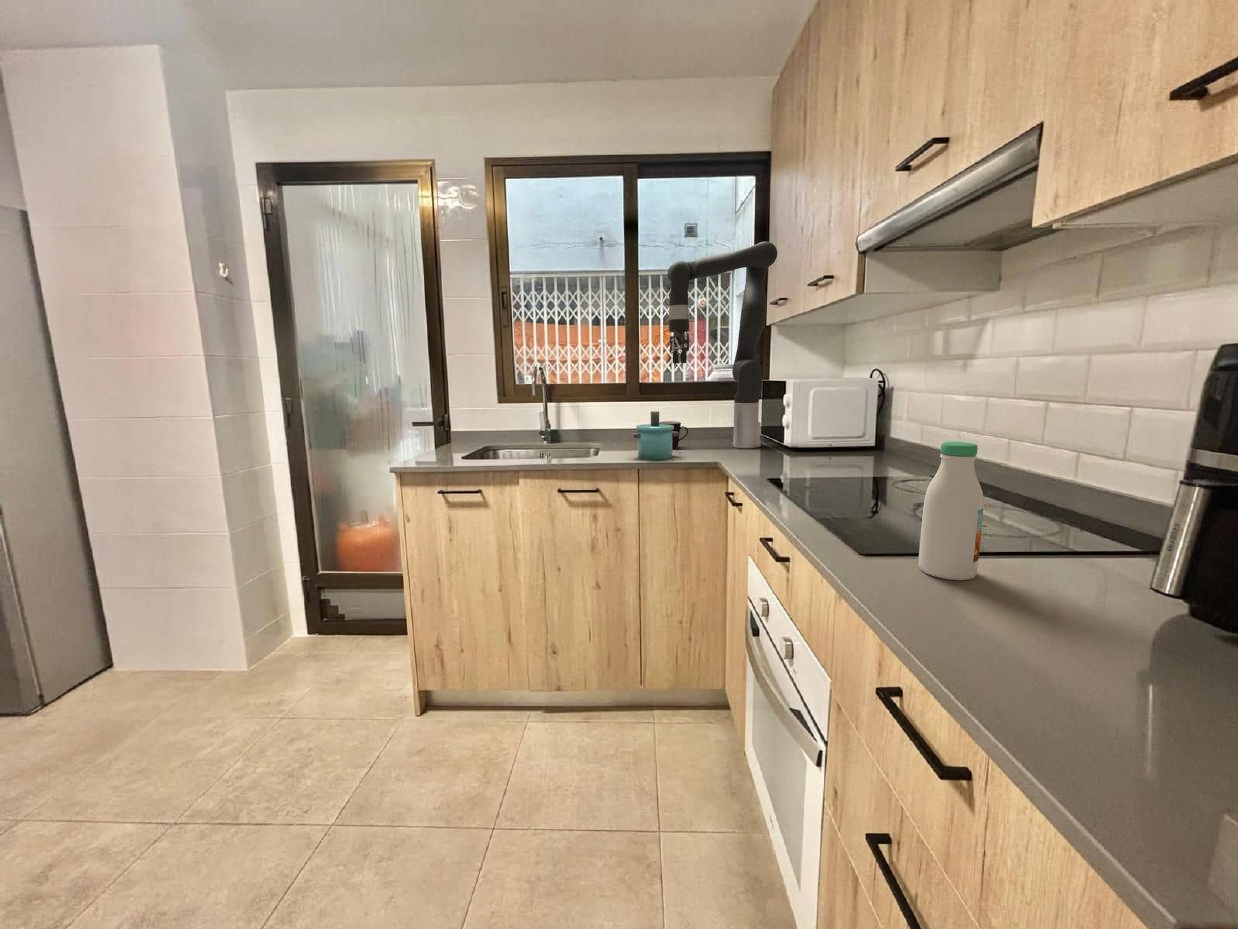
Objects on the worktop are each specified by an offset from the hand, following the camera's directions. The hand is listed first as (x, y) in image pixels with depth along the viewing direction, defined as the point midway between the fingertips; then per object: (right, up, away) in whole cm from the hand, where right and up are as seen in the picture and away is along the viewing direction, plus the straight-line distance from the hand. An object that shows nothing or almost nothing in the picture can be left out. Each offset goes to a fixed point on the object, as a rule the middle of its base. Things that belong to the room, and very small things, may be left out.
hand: (679, 363), depth 201 cm
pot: (-10, -35, -12) cm, 39 cm away
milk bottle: (+28, -55, -118) cm, 133 cm away
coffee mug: (-2, -32, +7) cm, 33 cm away
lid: (-10, -25, -14) cm, 31 cm away
